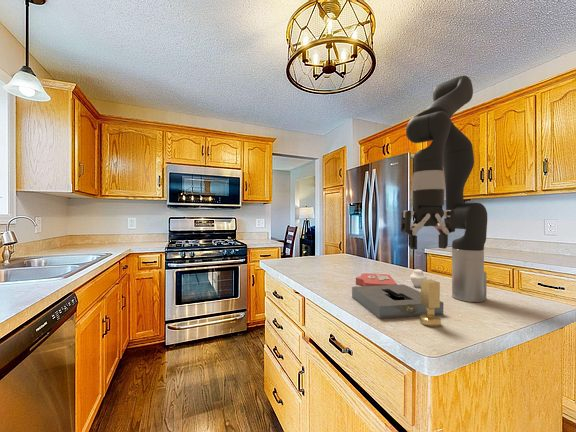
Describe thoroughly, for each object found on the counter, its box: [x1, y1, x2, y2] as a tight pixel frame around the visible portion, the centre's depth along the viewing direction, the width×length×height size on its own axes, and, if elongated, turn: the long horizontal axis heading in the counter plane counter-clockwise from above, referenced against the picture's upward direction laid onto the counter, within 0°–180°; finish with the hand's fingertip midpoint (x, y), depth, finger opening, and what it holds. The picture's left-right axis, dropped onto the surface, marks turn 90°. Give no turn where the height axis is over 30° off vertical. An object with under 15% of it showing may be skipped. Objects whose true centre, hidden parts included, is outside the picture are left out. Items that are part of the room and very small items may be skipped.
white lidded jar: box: [409, 268, 428, 288], centre depth 109 cm, size 6×6×7 cm
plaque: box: [355, 272, 398, 287], centre depth 111 cm, size 18×4×15 cm
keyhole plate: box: [351, 283, 444, 320], centre depth 86 cm, size 20×20×4 cm
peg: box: [419, 278, 442, 328], centre depth 72 cm, size 5×5×12 cm
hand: (427, 248), depth 72 cm, fingers open, 8 cm apart
